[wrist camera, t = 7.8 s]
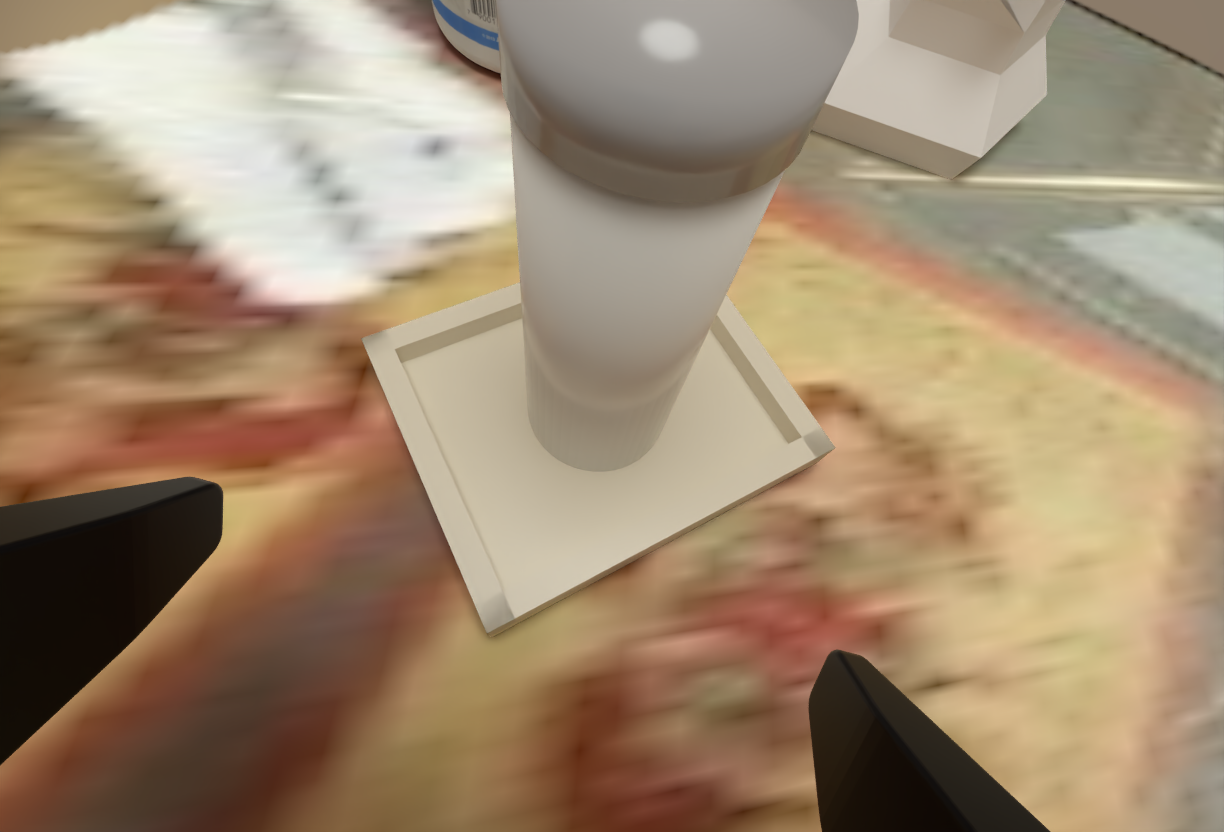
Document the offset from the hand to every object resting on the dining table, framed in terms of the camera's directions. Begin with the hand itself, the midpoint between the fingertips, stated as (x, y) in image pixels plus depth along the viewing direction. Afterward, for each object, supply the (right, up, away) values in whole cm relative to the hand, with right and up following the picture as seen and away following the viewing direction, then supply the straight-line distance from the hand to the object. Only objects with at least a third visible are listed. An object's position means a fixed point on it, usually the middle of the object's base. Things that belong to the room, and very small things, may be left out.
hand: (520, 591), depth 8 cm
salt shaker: (+1, +3, +11) cm, 11 cm away
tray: (+1, +3, +12) cm, 12 cm away
